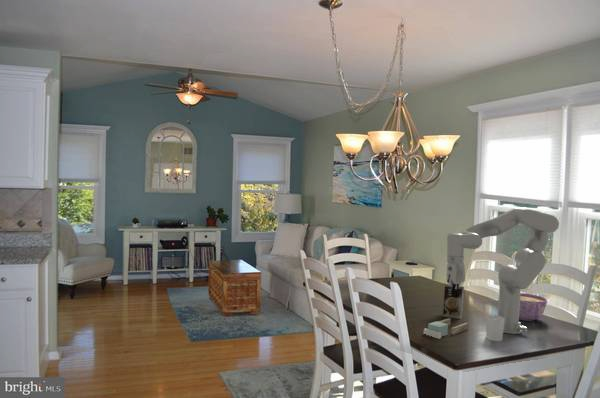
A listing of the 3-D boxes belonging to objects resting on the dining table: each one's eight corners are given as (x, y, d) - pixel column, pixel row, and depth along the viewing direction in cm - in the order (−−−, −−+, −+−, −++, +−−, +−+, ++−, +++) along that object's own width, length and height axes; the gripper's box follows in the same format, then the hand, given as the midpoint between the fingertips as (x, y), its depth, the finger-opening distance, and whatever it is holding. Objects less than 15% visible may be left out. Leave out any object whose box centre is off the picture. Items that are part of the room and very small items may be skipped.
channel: (467, 329, 241) (468, 323, 241) (453, 335, 231) (453, 328, 231) (448, 324, 248) (448, 318, 248) (433, 329, 238) (433, 323, 238)
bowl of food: (551, 326, 253) (552, 303, 252) (508, 322, 257) (510, 299, 256) (540, 315, 272) (541, 294, 272) (501, 312, 276) (502, 291, 276)
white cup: (488, 335, 233) (489, 314, 233) (505, 339, 228) (507, 317, 228) (482, 339, 227) (483, 317, 226) (500, 343, 222) (501, 321, 221)
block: (447, 335, 231) (448, 324, 231) (439, 337, 226) (439, 327, 226) (436, 331, 236) (436, 321, 235) (427, 334, 231) (428, 323, 231)
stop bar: (440, 338, 226) (441, 332, 225) (439, 338, 225) (439, 333, 224) (425, 333, 231) (425, 328, 231) (423, 334, 230) (423, 328, 230)
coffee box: (442, 316, 262) (444, 286, 261) (445, 313, 268) (446, 283, 267) (460, 319, 258) (462, 288, 257) (462, 316, 264) (464, 286, 263)
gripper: (454, 262, 230) (454, 301, 231) (470, 258, 241) (470, 295, 242) (440, 260, 236) (440, 298, 237) (455, 256, 246) (455, 293, 247)
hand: (455, 297), depth 239 cm, fingers closed
